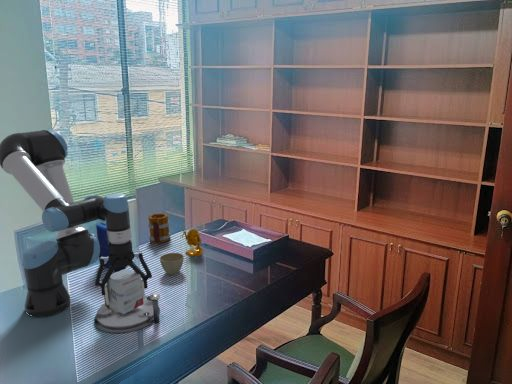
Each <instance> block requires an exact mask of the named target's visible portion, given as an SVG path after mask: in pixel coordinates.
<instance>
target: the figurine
mask: <svg viewBox="0 0 512 384" xmlns="http://www.w3.org/2000/svg"><path fill="white" fill-rule="evenodd" d="M182 232H183V233H182V235H180V239H183V238H184V237H185V240H186V241H187V242H186V244H188V246H190V247H195V246H196V247H195V248H192V249H188V250H186V251H185V253H184V254H185V255H186V256H189V257H195V256H197V257H201V256H203V255H202V254H204V250H203V249H204V248H202V247H201V242H202V239H201V235H200V233H199V231H198V230H197V229H194V228H192V229H190V230H188V232H187V231H185V230H184V231H182ZM200 255H201V256H200Z"/></svg>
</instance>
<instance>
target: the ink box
mask: <svg viewBox="0 0 512 384" xmlns="http://www.w3.org/2000/svg"><path fill="white" fill-rule="evenodd" d="M106 284H107V289H108V298H109V306H110V307H111V308H112V309H114V310H116V311H118V312H120V313H122V314H125V313H127V312H129V311H131V310H133V309H135V308H137V307H139V306H141V305H143V294H142V284H141V275H140V274H137V273H136V272H135V271H134V270H132V269H129V268H126V269H124V270H121V271H118V272H117V271H115V272H113V273H112V274H111V276H110V278H109V279H108V281H107V283H106Z"/></svg>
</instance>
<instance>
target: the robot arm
mask: <svg viewBox="0 0 512 384" xmlns="http://www.w3.org/2000/svg"><path fill="white" fill-rule="evenodd" d="M66 141H67V140H65V138H64V136H63V135H62V134H61V133H60V132H58V131H57V130H54V129H42V130H35V131H27V132H15V133H12V134H9V135H8V136H6V137H4V138H3V139H2V141H0V167H1V169H2V170H3V171H4V172H5V173H6V174H8V175H11V176H12V177H13V178H14V179H15V181H17V182H18V183H19V185H20V186H21V187H22V188H23V189H24V191H25V192H26V193H27V194H28V195H29V197H30V198H31V199H32V200H33V202H34V203H35V204H36V205H37V206H38V207H39V208H40V209H41V211H42V214H41V220H42V224H43V225H44V228H45V229H46V231H49V232H52V233H55V232H58V235H57V236H56V238H55V240H56V241H54V240H46V241H41V242H37V243H35V244H33V245H31V246H29V247H28V248H26V249H25V250H24V252H23V253H22V267H23V271H24V277H25V282H26V287H27V288H26V289H27V294H26V296H25V297H26V298H25V303H24V310H25V311H26V312H27V313H28V314H29V315H32V316H38V317H37V318H40V317H39V316H45V317H49V315H50V316H54V315H56V314H59V313H62V312H63V311H65V310H66V309H68V308H69V307H70V305H71V304H72V303H71V302H72V301H71V296H70V293H69V292H68V289H67V288H66V286H65V284H64V281H63V276H64V275H66V274H69V273H71V272H74V271H77V270H80V269H83V268H86V267H89V266H90V265H93V264H95V263H96V262H97V261H99V254H100V245H99V241H98V239H97V237H96V236H97V235H96V234H94V233H91V232H89V230H88V228H86V227H84V226H83V225H84V224H88V223H91V222H94V221H98V220H100V221H103V222H105V223H106V227H107V237H108V241H109V243H108V246H109V256H108V257H103V256H101V257H100V261H99V266H98V270H97V273H96V277H95V280H94V286H95V287H99V288H100V290H101V295H102V296H103V297H104V295H106V304H107V305H109V298H108V289H107V281H108V279H109V278H110V276H111V274H113V273H114V272H115V271H114V270H115V268H116V267H117V268H121V267H126V268H128V267H130V268H131V270H132V271H134V272H136V273H137V274H140V275H141V284H142V294H143V299H145V296H146V293H145V290H146V289H148V280H149V279H152V277H153V275H152V272H151V270H150V268H149V267H148V264H147V262H146V261H145V258H144V255H143V251H142V250H139V251H138V252H134V251H133V241H132V231H131V229H132V228H131V219H130V218H131V217H130V209H129V208H130V205H129V201H128V196H127V195H126V194H123V193H112V194H107V195H105V196H100V195H95V194H91V195H87V196H86V197H85V198H84V199H83V200H79V201H75V199H74V197H73V194H72V190H71V187H70V185H69V181H68V179H67V175H66V173H65V170H64V164H65V163H66V159H65V158H67V157H68V153H69V151H68V144H67V142H66ZM134 258H136V259H137V260H138V261H139V263H140V264H141V266H142V268H143V269H144V272H145V273H146V274H145V273H144V272H143V271H142V270H141V268H140V267H138V265H137V264H136V263H135V261H134ZM108 260H109V261H110V262H111V263H112V264H111V266H110V268H109V269H108V270H107V271H106V273H105V275H104V276H103V278H102V275H103V271H104V269H105V267H104V264H106V263H107V261H108ZM101 278H102V279H101ZM25 311H24V312H25ZM26 312H25V313H26ZM53 314H54V315H53ZM29 315H28V316H29ZM32 316H31V317H32Z"/></svg>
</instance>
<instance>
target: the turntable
mask: <svg viewBox="0 0 512 384" xmlns="http://www.w3.org/2000/svg"><path fill="white" fill-rule="evenodd" d="M147 297H148V296H146V295H145V299H143V305H141V306H139V307H137V308H135V309H133V310H131V311H129V312H127V313H125V314H122V313H120V312H118V311H116V310H114V309H112V308H111V307H110V306H109V305H107V304H106V295H103V298H104V303H103V304H102V305H101V306H99V308H98V309H97V311H96V314H97V321H98V323H99V324H100V325H101V326H103V327H105V328H109V329H128V328H133V327H137V326H139V325H142V324H144V323H146V322H148V321H149V320H151V319H152V318H153V317H154V313H153V301H150V300H147Z"/></svg>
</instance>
